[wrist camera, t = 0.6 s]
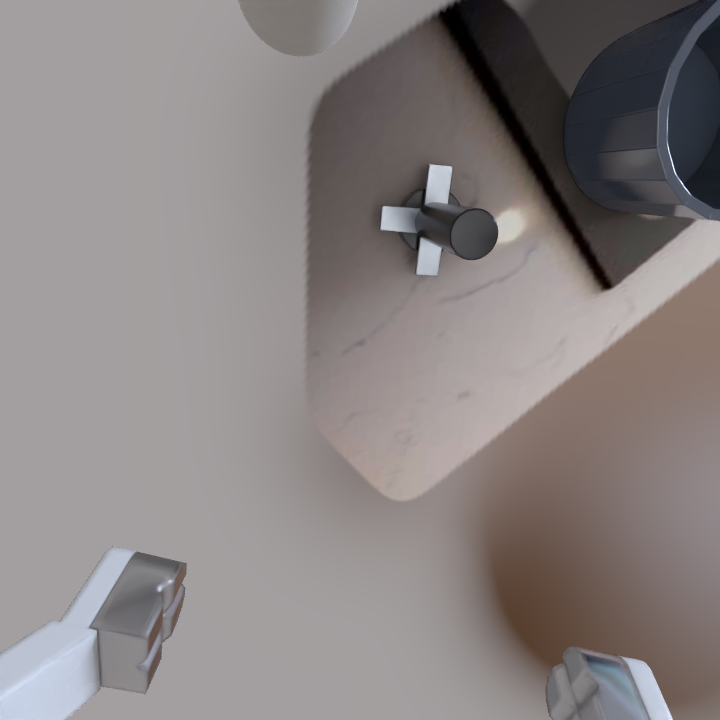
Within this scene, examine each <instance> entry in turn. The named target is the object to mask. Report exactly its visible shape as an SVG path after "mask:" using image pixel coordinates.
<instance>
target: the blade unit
mask: <svg viewBox="0 0 720 720" xmlns="http://www.w3.org/2000/svg"><path fill="white" fill-rule="evenodd" d="M452 171H453V166H448V165H438V164H428V169H427V177H426V185H425V188H421V189H418V190H416V191H414V192H412V193H411V194H410V195H408V196H407V197H406V198H405V200H404V201H403V203H402V204H401V206H400V207H398V206H386V205H382V206H381V216H380V227H379V230H382V231H395V232H399V234H400V236H401V238H402V240H403V241H404V242H405V243H406V244H407V245H408V246H409V247H411V248H412V249H414V250H415V251H417V259H416V267H415V274H416V275H426V276H438V272H439V265H440V257H441V252H442V251H444V250H446V251H448V252H450V253H453V254H455V255H457V256H459V257H461V258H463V259H466V260H477V259H480V258H482V257H484V256H486V255H487V254H488V253H489V252H490V251H491V250H492V249H493V247H494V246H495V244H496V241H497V238H498V226H497V223H496V220H495V219H494V217H493V216H492V215H491V214H490V213H489V212H487V211H485V210H483V209H478V208H471V207H465V206H460V204H459V202H458V201H457V199H456V198H455V197H454V196H453V195H452V194H451V193H449V192H450V185H451V178H452Z"/></svg>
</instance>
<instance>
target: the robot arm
mask: <svg viewBox="0 0 720 720" xmlns="http://www.w3.org/2000/svg"><path fill="white" fill-rule="evenodd" d="M185 575H186V563H184V562H179V561H175V560H171V559H166V558H162V557H158V556H153V555H149V554H145V553H140V552H137V551H133V550H128V549H123V548H119V547H114V546H112V547H111V548H110V549H109V550H108V551H107V552H105V554H104V555H103V556H102V558H101V560H100V561H99V562H98V564H97V565H96V567H95V569H94V570H93V572H92V573H91V575H90V576H89V578H88V579H87V581H86V582H85V584H84V585H83V587H82V588H81V590H80V591H79V593H78V594H77V596H76V597H75V599H74V600H73V602H72V603H71V605H70V606H69V608H68V609H67V611H66V612H65V614H64V615H63V617H62V618H61V620H60V621H59V622H57V621H50V622H48V623H47V624H45V625H43V626H42V627H40V628H39V629H37V630H35V631H34V632H33V633H31V634H29V635H27V636H26V637H24V638H23V639H21V640H20V641H18V642H16V643H15V644H13V645H12V646H10V647H8V648H7V649H5V650H4V651H2V652H1V653H0V720H67V719H68V718H69V717H70V716H71V715H72V714H74V713H75V712H76V711H77V710H78V709H79V708H80V707H81V706H83V705H84V704H85V703H86V702H87V701H88V700H89V699H90V698H92V697H93V696H94V695H95V694H96V693H97V692H98V691H99V690H100V686H101V687H107V688H113V689H119V690H124V691H130V692H136V693H141V694H146V692H147V690H148V688H149V685H150V683H151V681H152V678H153V676H154V674H155V672H156V670H157V667H158V665H159V663H160V660H161V655H162V642H164V641H165V640H166V639H168V638H169V637H170V636H171V635H172V633H173V630H174V628H175V625H176V623H177V620H178V617H179V614H180V611H181V608H182V604H183V600H184V595H185V587H184V586H183V584H182V582H183V580H184V577H185ZM563 659H564V663H562V664H560V665H557V666H555V667H553V669H552V670H551V672H550V674H549V675H548V677H547V684H546V702H547V707H548V711H549V716H550V717H551V719H552V720H673V719H672V717H671V714H670V712H669V710H668V708H667V705H666V703H665V701H664V698H663V696H662V694H661V692H660V689H659V687H658V685H657V683H656V680H655V678H654V676H653V673H652V672H651V669H650V668H649V667H648V665H647V664H646V663H645V662H643V661H640V660H636V659H631V658H626V657H620V656H617V655H615V654H610V653H605V652H600V651H595V650H590V649H585V648H580V647H574V646H573V647H570V648H567V650H566V651H565V652H564V654H563Z"/></svg>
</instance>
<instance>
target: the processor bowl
mask: <svg viewBox="0 0 720 720" xmlns="http://www.w3.org/2000/svg"><path fill="white" fill-rule="evenodd" d="M564 148H565V156H566V160H567V164H568V167H569V170H570V172H571V175H572V177H573V179H574V180H575V182H576V184H577V185H578V187H579V188H580V189H581V190H582V192H583V193H584V194H585V195H586V196H587V197H588V198H590V199H591V200H592V201H594V202H595V203H597V204H598V205H600V206H603V207H605V208H607V209H611V210H614V211H621V212H628V213H636V214H647V215H657V216H667V217H677V218H687V219H698V220H708V221H718V222H720V0H699V1H697V2H695V3H692V4H690V5H688V6H686V7H684V8H681V9H679V10H677V11H675V12H673V13H671V14H668V15H666V16H664V17H662V18H659V19H657V20H655V21H653V22H651V23H648V24H646V25H644V26H642V27H639V28H637V29H636V30H634V31H632V32H630V33H629V34H627V35H625V36H623V37H621V38H619V39H618V40H616V41H615V42H613V43H612V44H610V45H609V46H608V47H607V48H606V49H604V50H603V51H602V52H601V53H600V54H599V55H598V56H597V57H596V58H595V59H594V60H593V61H592V63H591V64H590V65H589V67H588V68H587V69H586V71H585V72H584V74H583V75H582V77H581V79H580V80H579V82H578V84H577V86H576V88H575V90H574V93H573V95H572V97H571V100H570V103H569V106H568V110H567V115H566V119H565V127H564Z"/></svg>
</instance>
